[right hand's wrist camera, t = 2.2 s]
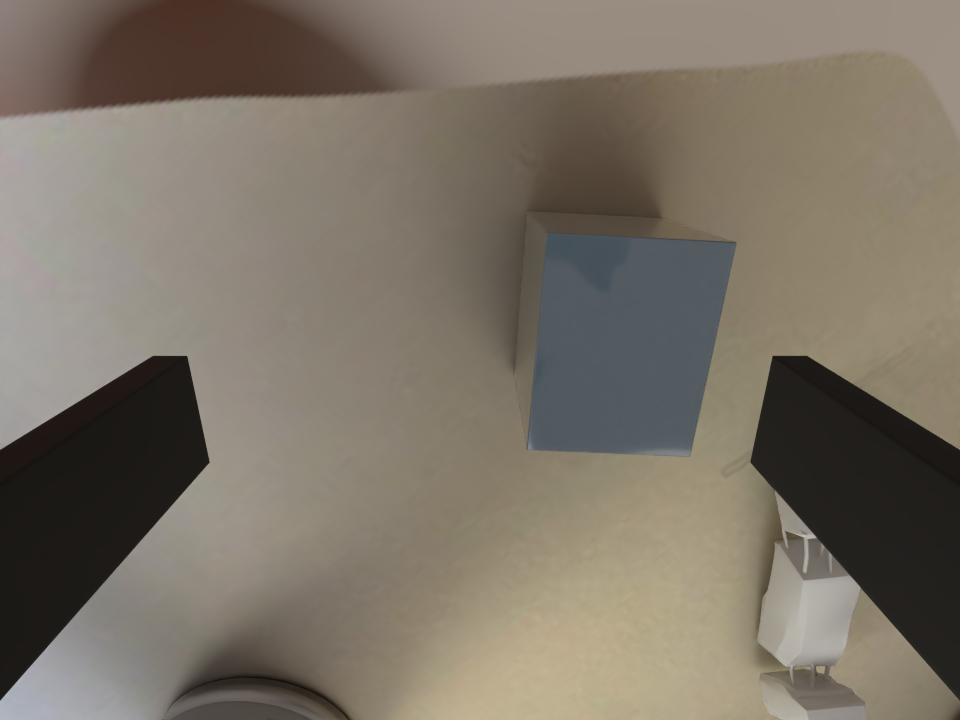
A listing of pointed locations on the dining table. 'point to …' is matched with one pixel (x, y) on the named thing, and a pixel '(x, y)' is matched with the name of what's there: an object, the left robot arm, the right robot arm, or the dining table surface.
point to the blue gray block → (616, 331)
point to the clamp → (806, 627)
